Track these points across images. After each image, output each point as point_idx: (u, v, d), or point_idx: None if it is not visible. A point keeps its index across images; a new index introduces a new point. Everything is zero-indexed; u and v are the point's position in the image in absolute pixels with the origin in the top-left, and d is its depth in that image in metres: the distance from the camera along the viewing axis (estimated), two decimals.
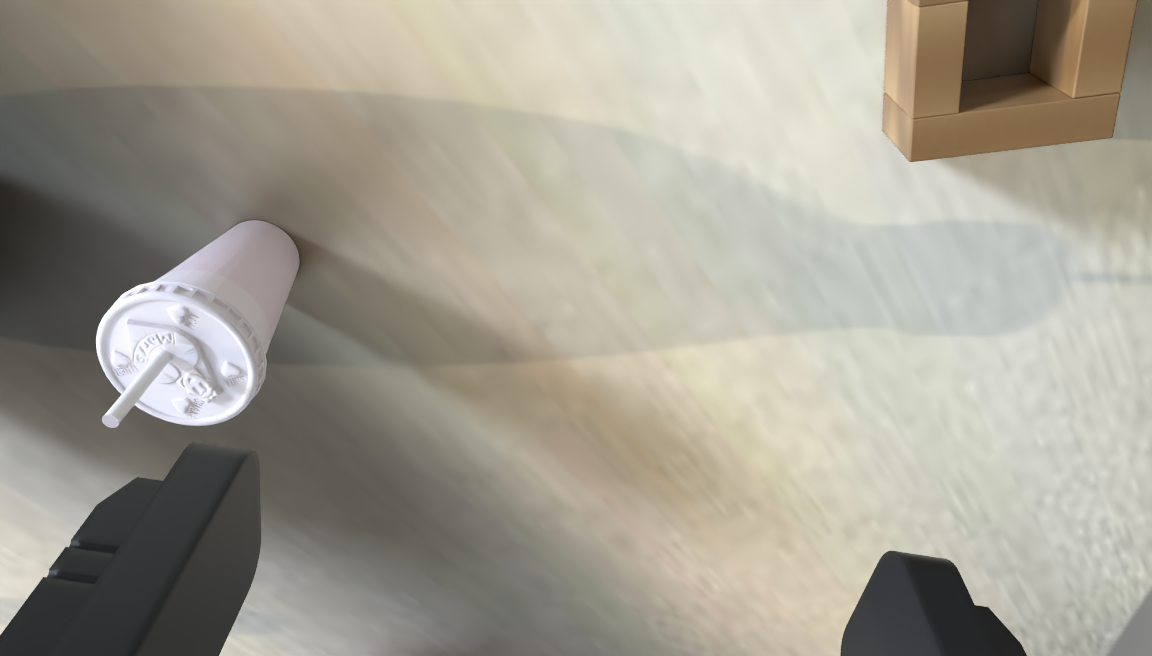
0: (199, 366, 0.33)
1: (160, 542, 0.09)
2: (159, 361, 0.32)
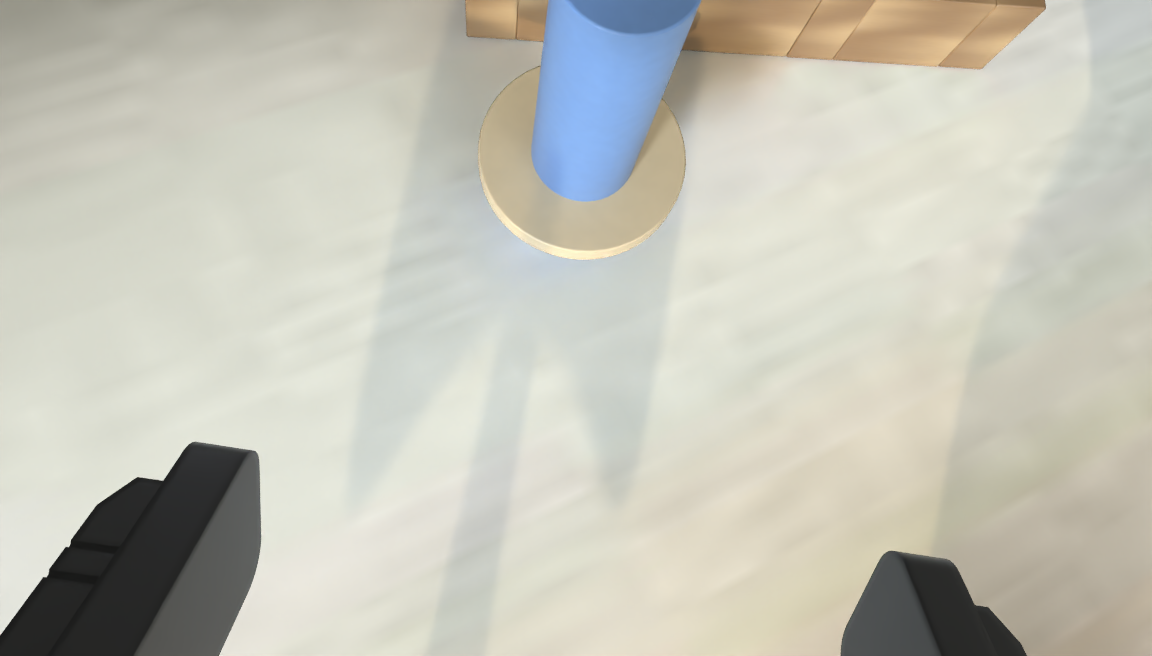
0: None
1: (160, 542, 0.09)
2: None
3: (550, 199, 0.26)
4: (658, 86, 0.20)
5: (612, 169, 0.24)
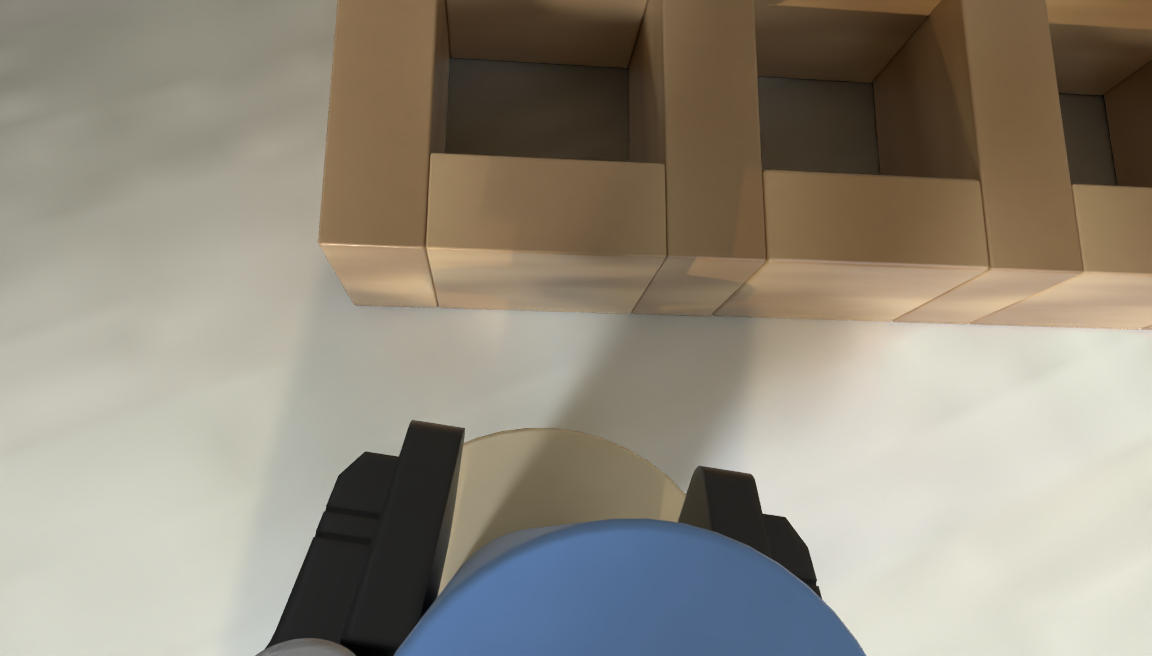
0: None
1: (414, 506, 0.10)
2: None
3: None
4: None
5: None
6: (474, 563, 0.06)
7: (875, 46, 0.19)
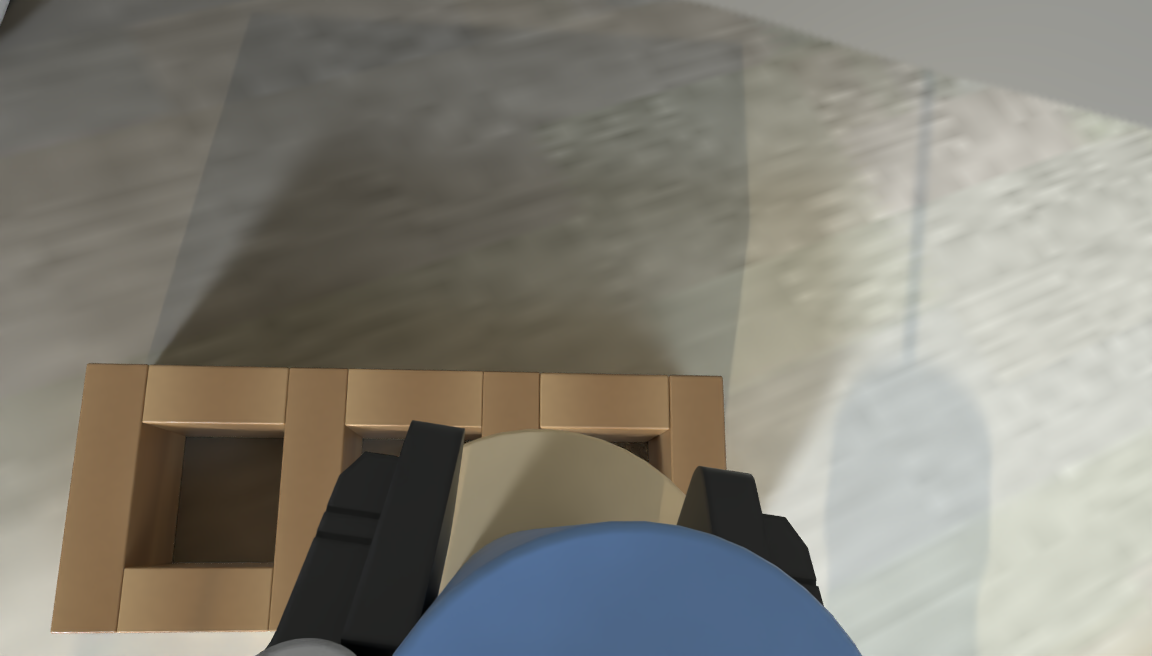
0: None
1: (415, 506, 0.10)
2: None
3: None
4: None
5: None
6: (472, 565, 0.06)
7: None
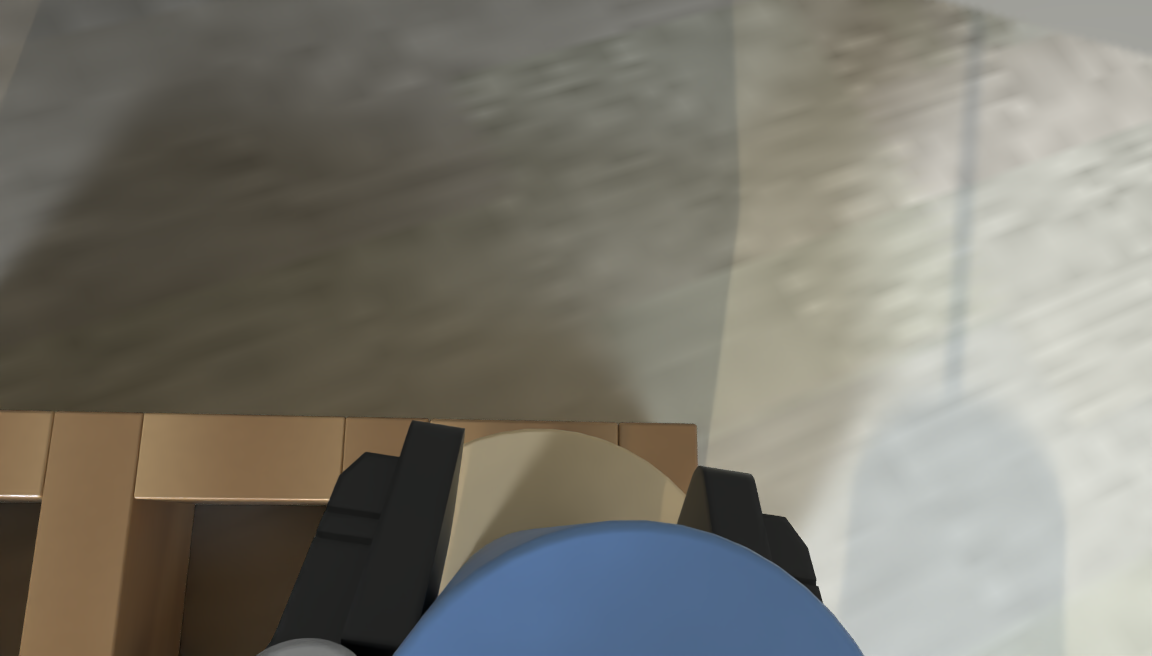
0: None
1: (415, 506, 0.10)
2: None
3: None
4: None
5: None
6: (473, 565, 0.06)
7: None
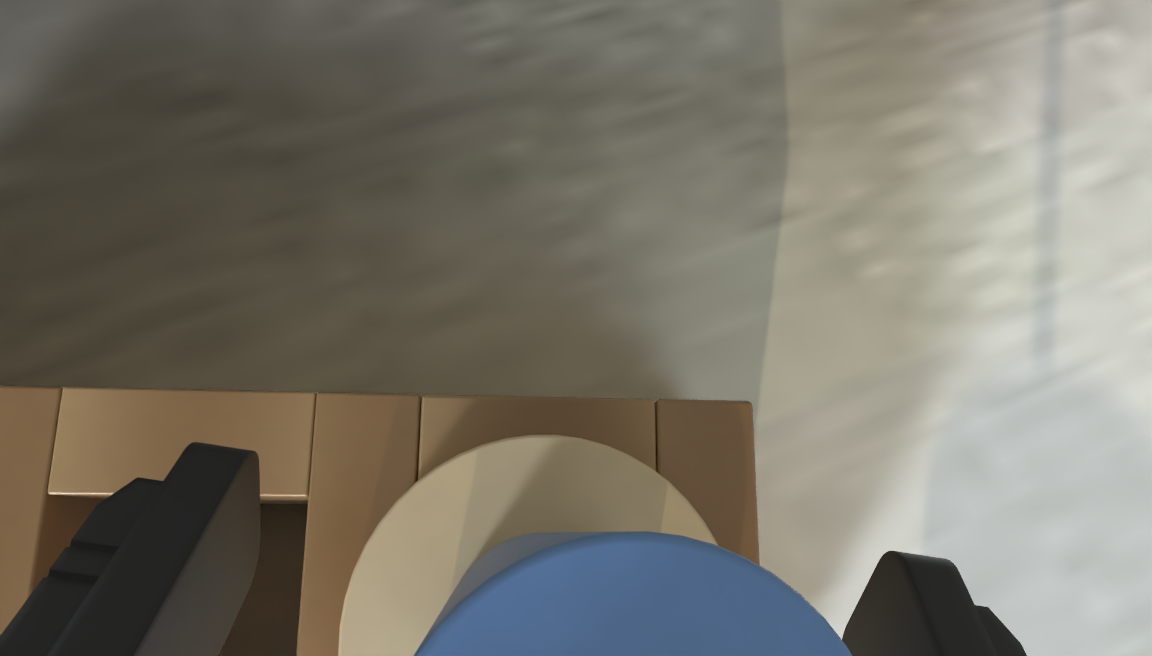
0: None
1: (160, 542, 0.09)
2: None
3: None
4: None
5: None
6: (483, 572, 0.07)
7: (300, 501, 0.17)
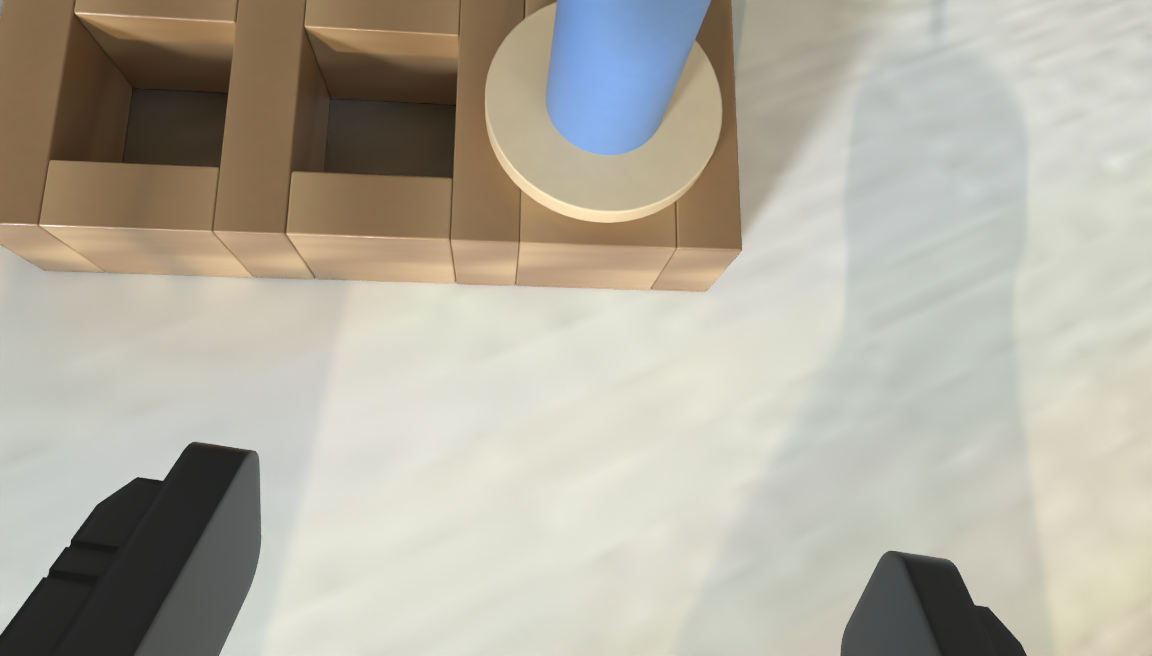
0: None
1: (160, 542, 0.09)
2: None
3: (568, 152, 0.22)
4: None
5: (641, 113, 0.20)
6: None
7: (441, 79, 0.26)
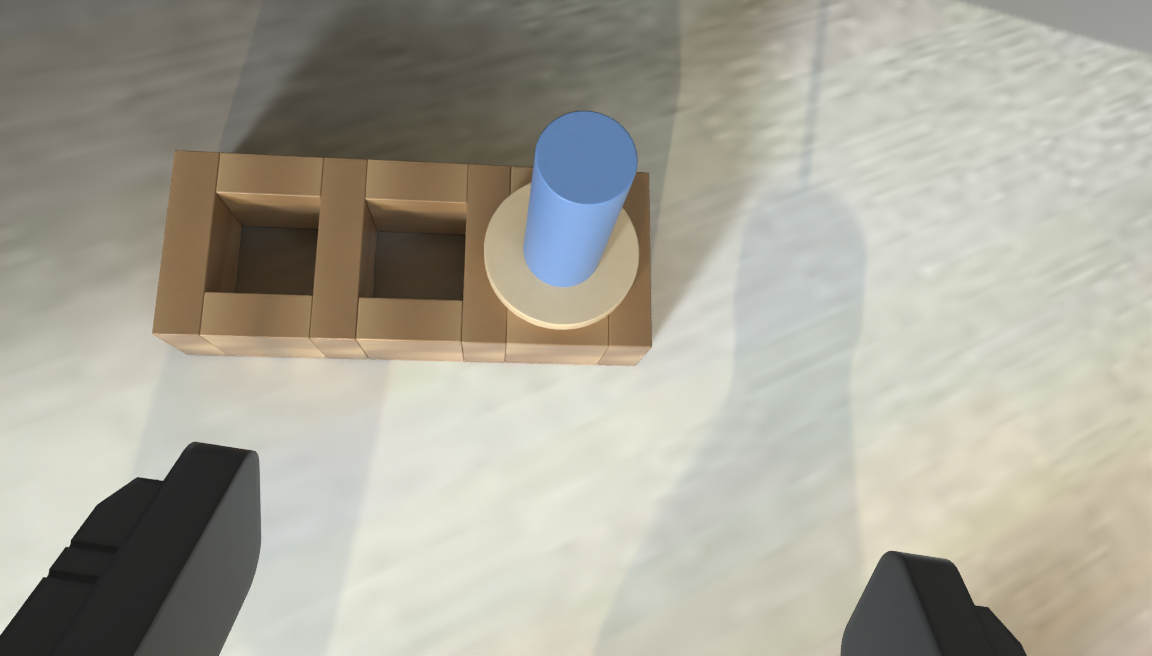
0: None
1: (160, 542, 0.09)
2: None
3: (537, 286, 0.34)
4: (609, 224, 0.29)
5: (582, 269, 0.33)
6: None
7: (453, 222, 0.38)
